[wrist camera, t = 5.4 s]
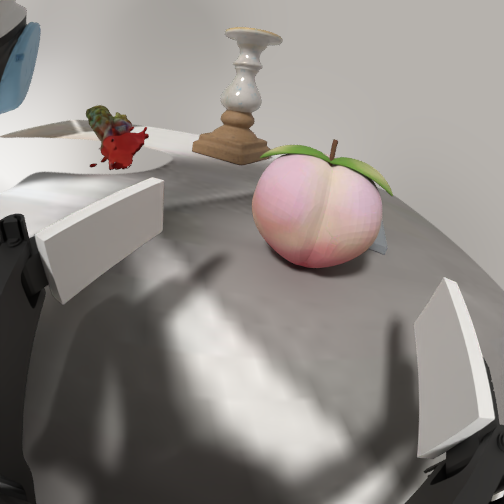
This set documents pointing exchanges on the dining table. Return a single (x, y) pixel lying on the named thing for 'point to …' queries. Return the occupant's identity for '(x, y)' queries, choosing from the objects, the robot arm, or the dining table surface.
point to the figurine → (115, 137)
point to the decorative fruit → (318, 206)
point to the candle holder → (240, 103)
